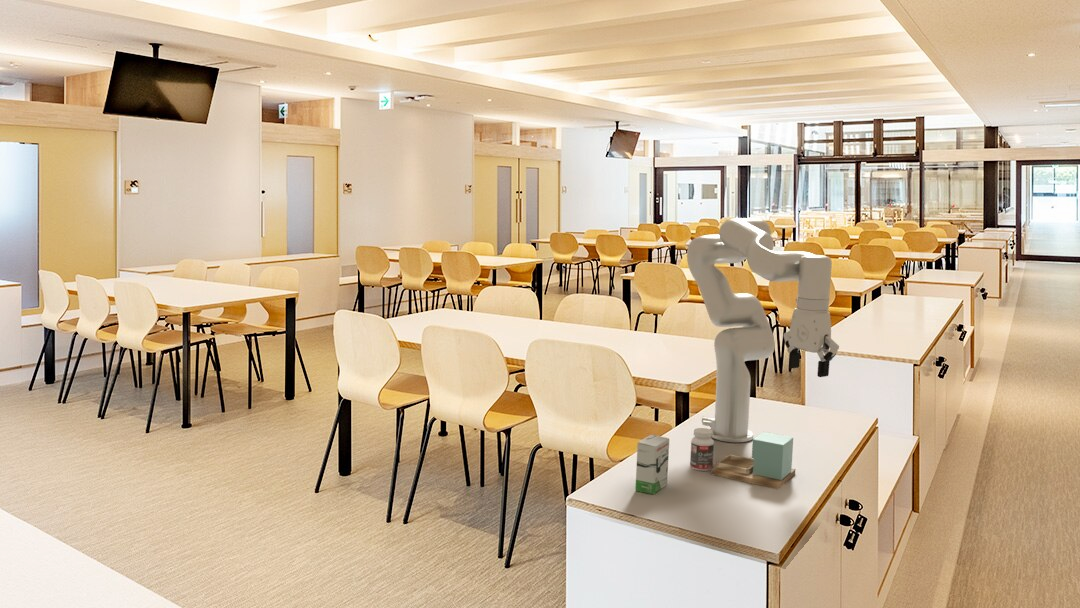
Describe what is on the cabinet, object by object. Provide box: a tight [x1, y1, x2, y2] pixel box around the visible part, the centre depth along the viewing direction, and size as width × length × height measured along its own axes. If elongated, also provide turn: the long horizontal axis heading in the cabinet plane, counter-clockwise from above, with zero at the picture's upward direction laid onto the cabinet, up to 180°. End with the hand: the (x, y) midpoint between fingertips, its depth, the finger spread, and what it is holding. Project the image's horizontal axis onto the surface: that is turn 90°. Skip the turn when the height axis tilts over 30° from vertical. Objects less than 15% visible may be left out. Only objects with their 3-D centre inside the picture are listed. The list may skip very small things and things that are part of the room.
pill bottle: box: [689, 427, 715, 472], centre depth 212 cm, size 6×6×10 cm
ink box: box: [635, 434, 670, 495], centre depth 198 cm, size 9×5×12 cm, turn 148°
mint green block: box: [751, 431, 794, 480], centre depth 206 cm, size 8×8×9 cm
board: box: [710, 453, 796, 490], centre depth 209 cm, size 17×13×5 cm
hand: (808, 372), depth 209 cm, fingers open, 9 cm apart
